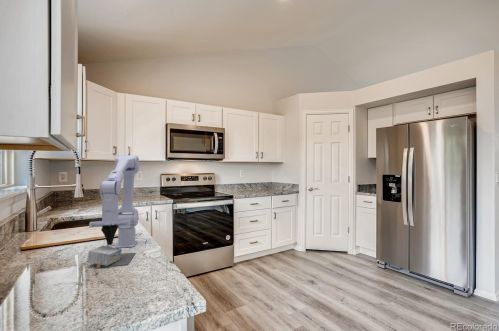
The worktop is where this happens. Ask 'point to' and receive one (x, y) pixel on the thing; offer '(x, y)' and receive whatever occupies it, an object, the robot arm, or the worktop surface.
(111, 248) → the medicine box
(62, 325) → the worktop surface
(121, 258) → the rubber mat
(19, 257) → the worktop surface
